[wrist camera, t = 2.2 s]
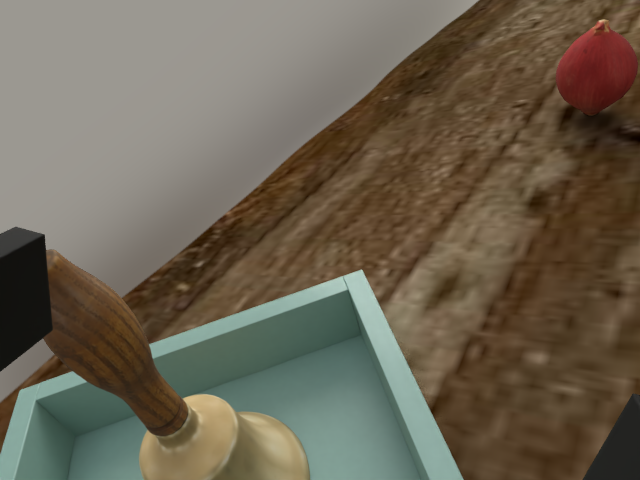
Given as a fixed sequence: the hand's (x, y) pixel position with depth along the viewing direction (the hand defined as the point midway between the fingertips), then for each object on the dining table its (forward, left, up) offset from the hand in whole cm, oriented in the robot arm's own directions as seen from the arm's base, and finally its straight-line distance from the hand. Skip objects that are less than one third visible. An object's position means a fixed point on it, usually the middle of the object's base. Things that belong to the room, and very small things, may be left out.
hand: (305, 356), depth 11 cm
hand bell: (+6, -7, -15) cm, 17 cm away
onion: (-32, -22, -15) cm, 42 cm away
